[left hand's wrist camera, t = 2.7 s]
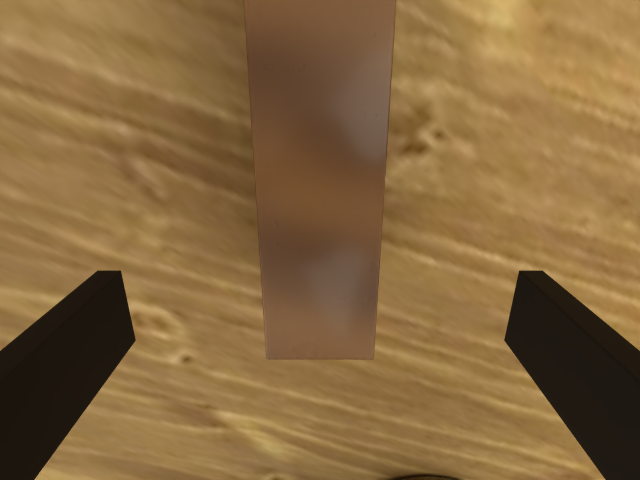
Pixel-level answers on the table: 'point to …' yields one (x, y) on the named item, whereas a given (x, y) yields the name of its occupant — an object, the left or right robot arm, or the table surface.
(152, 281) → the table surface
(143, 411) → the table surface
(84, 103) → the table surface
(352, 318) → the beam
